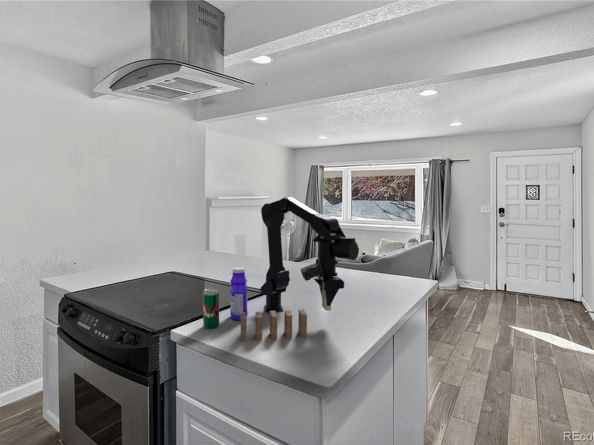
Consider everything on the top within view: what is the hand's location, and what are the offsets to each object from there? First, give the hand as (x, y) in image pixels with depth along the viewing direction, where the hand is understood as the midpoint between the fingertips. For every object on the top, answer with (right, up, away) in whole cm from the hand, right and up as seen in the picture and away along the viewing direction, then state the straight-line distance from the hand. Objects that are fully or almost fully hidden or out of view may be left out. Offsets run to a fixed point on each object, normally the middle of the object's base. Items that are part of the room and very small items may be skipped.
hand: (326, 303), depth 116 cm
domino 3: (-17, -8, -8) cm, 20 cm away
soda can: (-37, -7, -1) cm, 38 cm away
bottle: (-30, -7, +7) cm, 32 cm away
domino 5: (-8, -8, -7) cm, 13 cm away
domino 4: (-12, -8, -8) cm, 17 cm away
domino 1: (-26, -8, -10) cm, 29 cm away
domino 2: (-21, -8, -9) cm, 24 cm away
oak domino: (0, -2, 0) cm, 2 cm away
